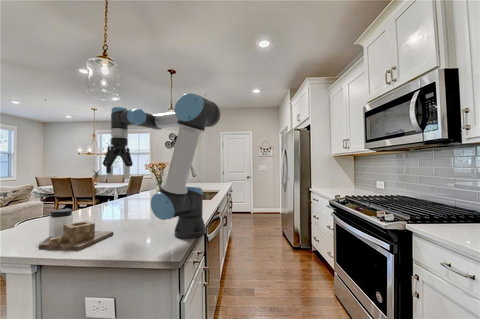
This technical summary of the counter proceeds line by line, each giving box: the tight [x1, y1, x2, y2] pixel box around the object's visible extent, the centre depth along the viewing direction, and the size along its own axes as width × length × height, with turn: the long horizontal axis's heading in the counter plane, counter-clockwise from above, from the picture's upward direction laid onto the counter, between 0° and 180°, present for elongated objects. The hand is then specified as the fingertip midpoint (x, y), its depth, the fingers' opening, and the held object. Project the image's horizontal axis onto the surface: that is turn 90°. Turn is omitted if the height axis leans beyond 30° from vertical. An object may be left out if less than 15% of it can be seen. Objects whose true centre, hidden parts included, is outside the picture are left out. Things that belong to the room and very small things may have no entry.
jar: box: [48, 208, 74, 238], centre depth 108 cm, size 9×8×12 cm
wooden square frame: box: [49, 220, 96, 245], centre depth 97 cm, size 14×9×6 cm, turn 144°
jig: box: [38, 230, 114, 251], centre depth 99 cm, size 18×20×6 cm
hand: (118, 179), depth 114 cm, fingers open, 13 cm apart
